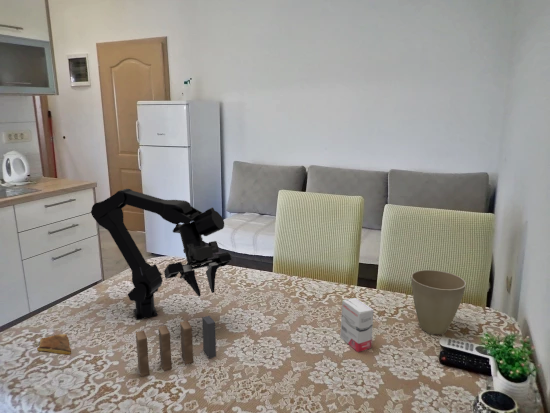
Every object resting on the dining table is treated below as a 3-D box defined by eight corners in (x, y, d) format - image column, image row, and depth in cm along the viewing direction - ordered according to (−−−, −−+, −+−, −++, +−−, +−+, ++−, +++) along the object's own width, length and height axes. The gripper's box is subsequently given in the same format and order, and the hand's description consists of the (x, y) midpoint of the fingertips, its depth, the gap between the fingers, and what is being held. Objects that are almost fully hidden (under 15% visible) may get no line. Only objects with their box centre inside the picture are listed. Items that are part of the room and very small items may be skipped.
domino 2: (163, 370, 100) (161, 334, 98) (160, 362, 104) (158, 327, 102) (171, 368, 101) (169, 332, 99) (168, 359, 105) (166, 325, 103)
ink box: (372, 348, 111) (374, 309, 108) (357, 352, 109) (360, 313, 106) (353, 333, 118) (355, 296, 116) (339, 337, 116) (341, 299, 114)
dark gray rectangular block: (208, 358, 106) (207, 324, 103) (203, 351, 109) (202, 317, 107) (216, 356, 107) (215, 322, 104) (210, 348, 110) (209, 315, 108)
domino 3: (185, 364, 103) (184, 329, 101) (181, 356, 106) (180, 322, 104) (193, 362, 104) (191, 327, 102) (189, 354, 107) (187, 320, 105)
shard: (71, 356, 107) (71, 350, 106) (38, 365, 103) (37, 359, 102) (67, 337, 116) (67, 331, 115) (37, 345, 112) (36, 339, 111)
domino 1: (141, 376, 98) (138, 340, 96) (138, 367, 102) (135, 332, 99) (149, 374, 99) (146, 338, 97) (146, 365, 102) (144, 330, 100)
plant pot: (466, 327, 122) (473, 278, 118) (448, 347, 111) (455, 294, 108) (419, 311, 132) (423, 265, 128) (398, 328, 121) (402, 279, 118)
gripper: (166, 238, 106) (180, 296, 101) (231, 227, 115) (246, 280, 111) (158, 251, 115) (171, 305, 110) (219, 240, 124) (233, 289, 120)
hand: (206, 294), depth 113 cm, fingers open, 4 cm apart
